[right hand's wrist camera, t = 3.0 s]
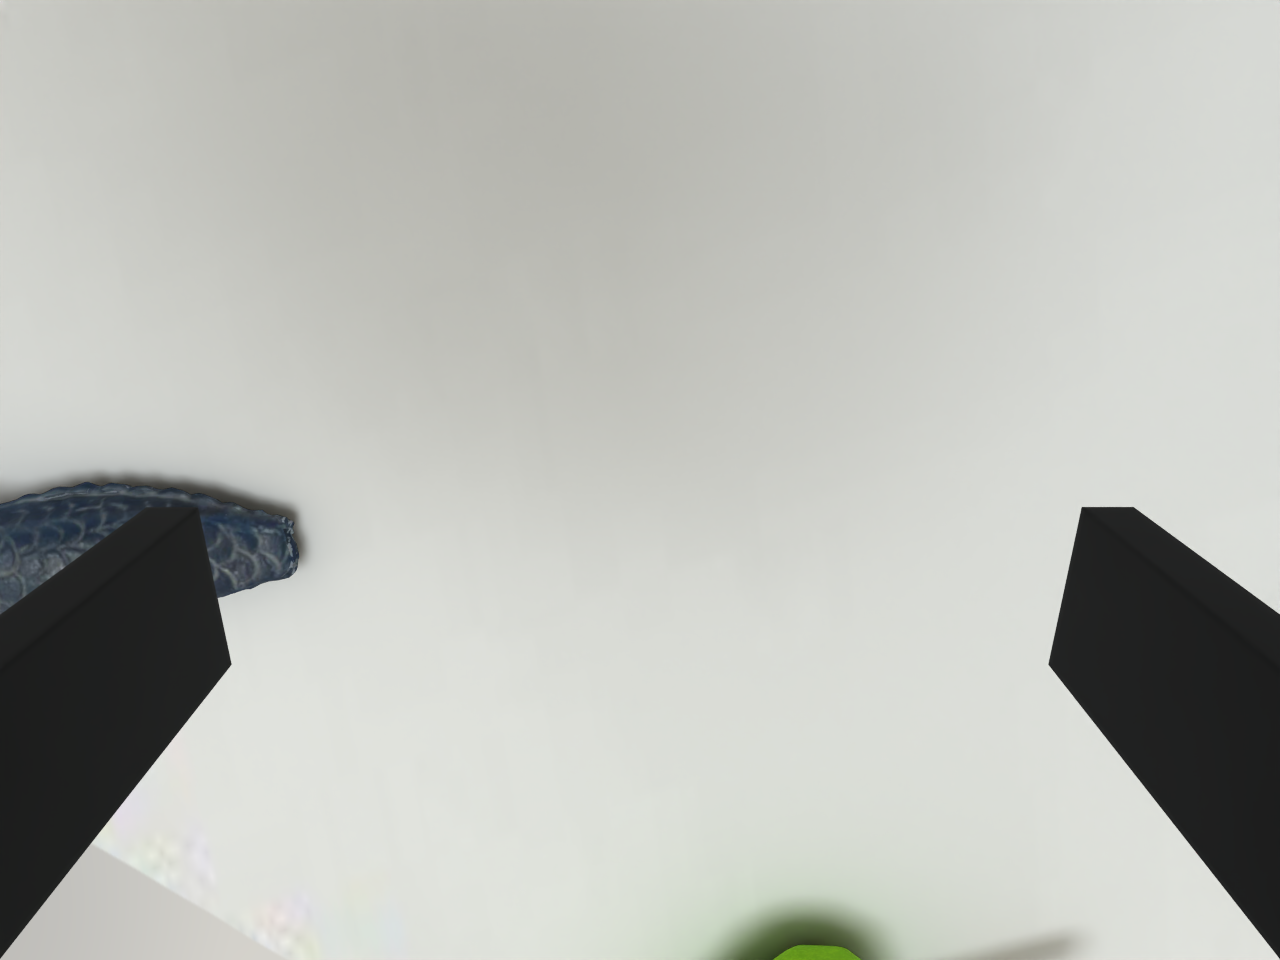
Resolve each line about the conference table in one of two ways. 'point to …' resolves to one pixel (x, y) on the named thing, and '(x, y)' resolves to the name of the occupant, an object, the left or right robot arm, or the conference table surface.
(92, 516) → the fish model
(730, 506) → the conference table surface
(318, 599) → the conference table surface
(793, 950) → the decorative tree
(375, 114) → the conference table surface
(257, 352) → the conference table surface
